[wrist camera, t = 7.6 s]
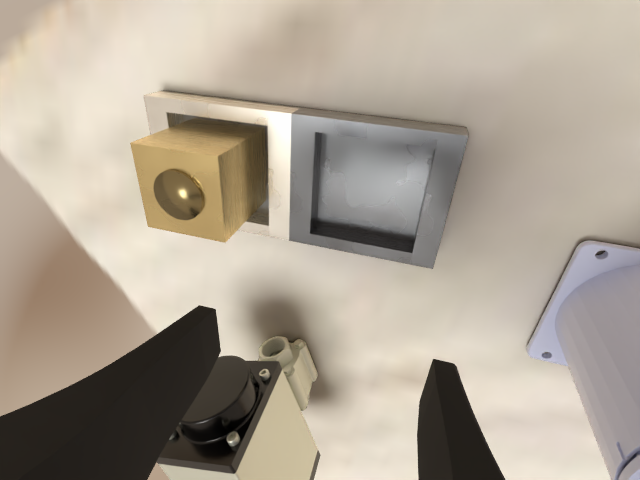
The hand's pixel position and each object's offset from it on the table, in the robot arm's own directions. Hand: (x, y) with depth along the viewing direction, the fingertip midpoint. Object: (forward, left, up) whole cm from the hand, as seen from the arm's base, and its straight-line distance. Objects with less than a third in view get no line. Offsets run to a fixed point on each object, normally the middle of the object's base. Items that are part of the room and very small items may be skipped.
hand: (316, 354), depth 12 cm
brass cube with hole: (+8, -2, -10) cm, 13 cm away
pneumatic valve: (+5, +13, -11) cm, 17 cm away
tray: (+4, -2, -10) cm, 11 cm away
